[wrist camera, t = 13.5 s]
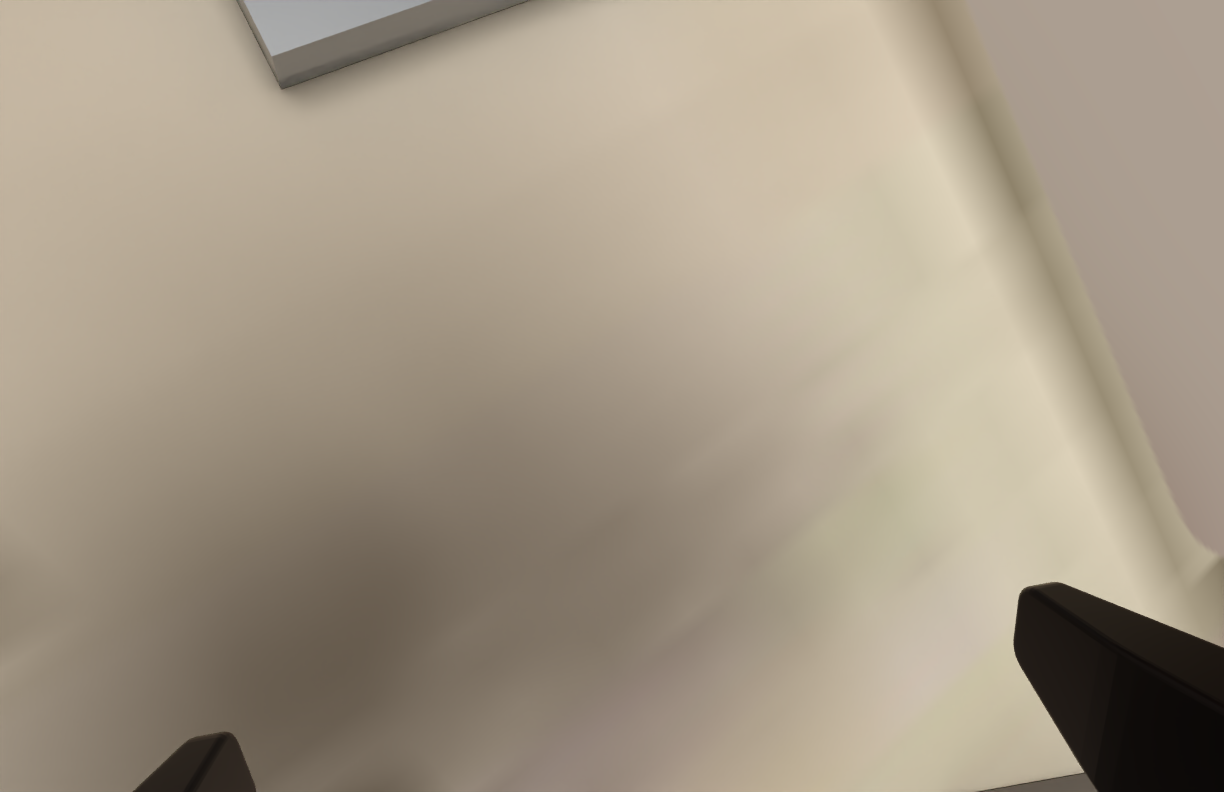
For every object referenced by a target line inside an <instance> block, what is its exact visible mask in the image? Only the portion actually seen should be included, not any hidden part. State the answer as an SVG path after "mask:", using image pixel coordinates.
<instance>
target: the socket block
mask: <svg viewBox="0 0 1224 792" xmlns="http://www.w3.org/2000/svg"><path fill="white" fill-rule="evenodd" d="M982 792H1097V790H1096V789H1095V787H1094V786H1093V784H1092V783H1091V781H1090V780H1089V778H1088V777H1087V775H1086V774H1085V773H1084V774H1078V775H1073V776H1067V777H1061V778H1056V779H1050V780H1044V781H1039V782H1033V783H1027V784H1022V785H1016V786H1011V787H1005V788H999V789H994V790H988V791H982Z"/></svg>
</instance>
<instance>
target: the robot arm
mask: <svg viewBox="0 0 1224 792" xmlns="http://www.w3.org/2000/svg"><path fill="white" fill-rule="evenodd" d="M1014 651H1015V655H1016V658H1017V660H1018V663H1019V665H1020V666H1021V668H1022V670H1023V671H1024V673H1025V675H1026V676H1027V678H1028V680H1029V681H1030V683H1031V685H1032V686H1033V688H1034V690H1035V691H1036V693H1037V695H1038V696H1039V698H1040V700H1041V701H1042V703H1043V705H1044V706H1045V708H1046V710H1047V711H1048V713H1049V715H1050V716H1051V718H1052V720H1053V721H1054V723H1055V724H1056V726H1057V728H1058V729H1059V731H1060V733H1061V734H1062V736H1063V738H1064V739H1065V741H1066V743H1067V744H1068V746H1069V748H1070V749H1071V751H1072V753H1073V754H1074V756H1075V758H1076V759H1077V761H1078V763H1079V764H1080V766H1081V767H1082V769H1083V770H1084V772H1085V774H1086V775H1087V777H1088V778H1089V780H1090V781H1091V783H1092V784H1093V786H1094V787H1095V789H1096V790H1097V792H1224V648H1223V647H1220V646H1218V645H1215V644H1213V643H1210V642H1208V641H1205V640H1203V639H1200V638H1198V637H1195V636H1193V635H1190V634H1188V633H1185V632H1183V631H1180V630H1178V629H1175V628H1173V627H1170V626H1168V625H1165V624H1163V623H1160V622H1158V621H1155V620H1153V619H1150V618H1148V617H1145V616H1143V615H1140V614H1138V613H1135V612H1133V611H1130V610H1128V609H1126V608H1123V607H1121V606H1118V605H1116V604H1113V603H1111V602H1108V601H1106V600H1103V599H1101V598H1098V597H1096V596H1093V595H1091V594H1088V593H1086V592H1083V591H1081V590H1078V589H1076V588H1073V587H1071V586H1068V585H1066V584H1063V583H1059V582H1050V583H1045V584H1039V585H1034V586H1029V587H1026V588H1024V589H1023V590H1022V592H1021V593H1020V595H1019V599H1018V607H1017V616H1016V624H1015V632H1014ZM133 792H256V788H255V784H254V781H253V779H252V776H251V773H250V771H249V768H248V766H247V763H246V761H245V758H244V756H243V753H242V751H241V748H240V746H239V743H238V741H237V739H236V737H235V736H234V735H233V734H232V733H230V732H219V733H214V734H208V735H203V736H197V737H194V738H191V739H189V740H188V741H187V742H185V743H184V744H183V745H182V746H181V747H180V748H179V749H177V750H176V751H175V752H174V753H173V754H172V755H171V756H170V757H169V758H168V759H167V760H166V761H165V762H164V763H163V764H162V765H161V766H159V767H158V768H157V769H156V770H155V771H154V772H153V773H152V774H151V775H150V776H149V777H148V778H147V779H146V780H145V781H144V782H142V783H141V784H140V785H139V786H138V787H137V788H136V789H135V790H134V791H133Z"/></svg>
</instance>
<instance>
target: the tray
mask: <svg viewBox="0 0 1224 792" xmlns="http://www.w3.org/2000/svg"><path fill="white" fill-rule="evenodd" d="M525 1H528V0H237V2H238V4H239V6H240V8H241V10H242V12H243V14H244V16H245V18H246V20H247V22H248V24H249V26H250V28H251V30H252V32H253V34H254V36H255V38H256V40H257V42H258V44H259V46H260V48H261V50H262V52H263V54H264V56H265V58H266V60H267V62H268V64H269V66H270V68H271V70H272V72H273V73H274V75H275V77H276V79H277V81H278V83H279V85H280V87H281V89H284V88H287V87H290V86H292V85H295V84H298V83H301V82H303V81H306V80H309V79H312V78H315V77H317V76H320V75H323V74H326V73H328V72H331V71H334V70H337V69H340V68H342V67H345V66H348V65H351V64H353V63H356V62H359V61H362V60H365V59H367V58H370V57H373V56H376V55H378V54H381V53H384V52H387V51H390V50H392V49H395V48H398V47H401V46H403V45H406V44H409V43H412V42H414V41H417V40H420V39H423V38H426V37H428V36H431V35H434V34H437V33H439V32H442V31H445V30H448V29H451V28H453V27H456V26H459V25H462V24H464V23H467V22H470V21H473V20H476V19H478V18H481V17H484V16H487V15H489V14H492V13H495V12H498V11H500V10H503V9H506V8H509V7H512V6H514V5H517V4H520V3H523V2H525Z"/></svg>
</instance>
